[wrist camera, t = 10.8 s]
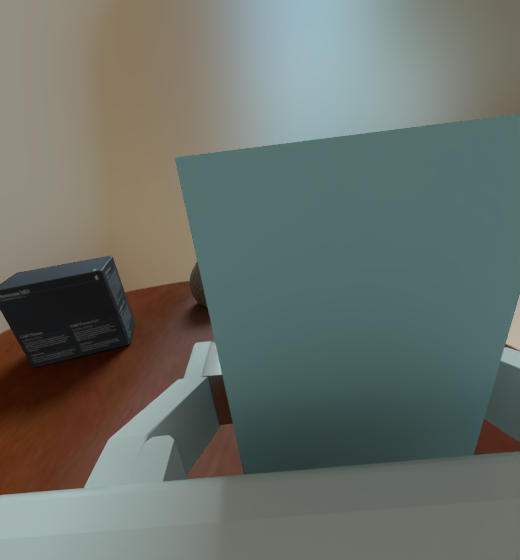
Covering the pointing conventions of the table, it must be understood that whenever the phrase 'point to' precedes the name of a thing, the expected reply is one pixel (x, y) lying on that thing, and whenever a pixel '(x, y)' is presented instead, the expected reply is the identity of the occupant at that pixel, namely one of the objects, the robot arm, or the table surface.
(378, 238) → the teal block
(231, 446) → the table surface
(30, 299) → the small box
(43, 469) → the table surface
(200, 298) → the vase
